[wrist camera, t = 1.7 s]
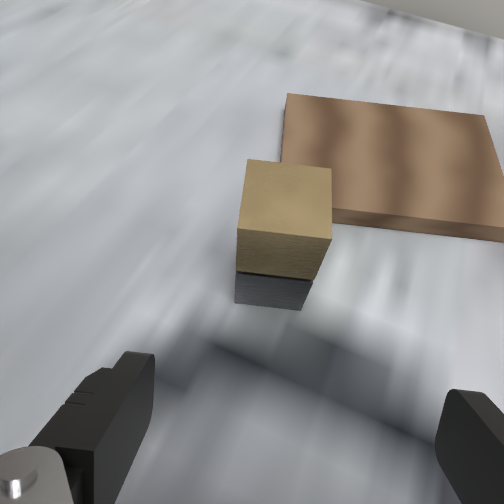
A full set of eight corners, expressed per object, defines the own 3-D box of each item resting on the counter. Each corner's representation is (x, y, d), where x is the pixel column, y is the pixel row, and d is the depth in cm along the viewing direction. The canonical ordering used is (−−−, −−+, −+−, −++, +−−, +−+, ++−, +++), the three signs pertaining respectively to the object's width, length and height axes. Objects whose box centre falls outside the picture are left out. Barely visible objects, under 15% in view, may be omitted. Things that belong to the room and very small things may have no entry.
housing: (234, 303, 28) (237, 228, 20) (242, 246, 31) (247, 159, 22) (300, 310, 28) (332, 239, 20) (302, 253, 31) (331, 168, 22)
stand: (275, 215, 33) (278, 201, 31) (284, 109, 40) (287, 93, 38) (505, 242, 33) (520, 229, 31) (473, 131, 40) (484, 115, 38)
